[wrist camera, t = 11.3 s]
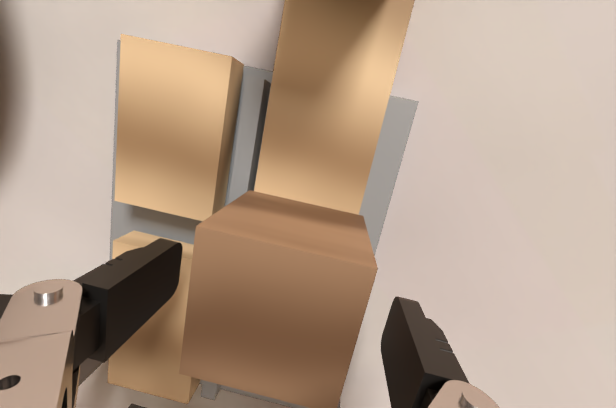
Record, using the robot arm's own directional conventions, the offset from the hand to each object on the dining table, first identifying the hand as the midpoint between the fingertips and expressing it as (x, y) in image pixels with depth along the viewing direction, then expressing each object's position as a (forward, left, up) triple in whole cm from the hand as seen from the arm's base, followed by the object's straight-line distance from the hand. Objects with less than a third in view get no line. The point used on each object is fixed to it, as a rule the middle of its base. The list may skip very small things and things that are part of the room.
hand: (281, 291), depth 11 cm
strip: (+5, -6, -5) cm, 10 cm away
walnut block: (0, 0, -3) cm, 3 cm away
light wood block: (-4, -6, -5) cm, 9 cm away
